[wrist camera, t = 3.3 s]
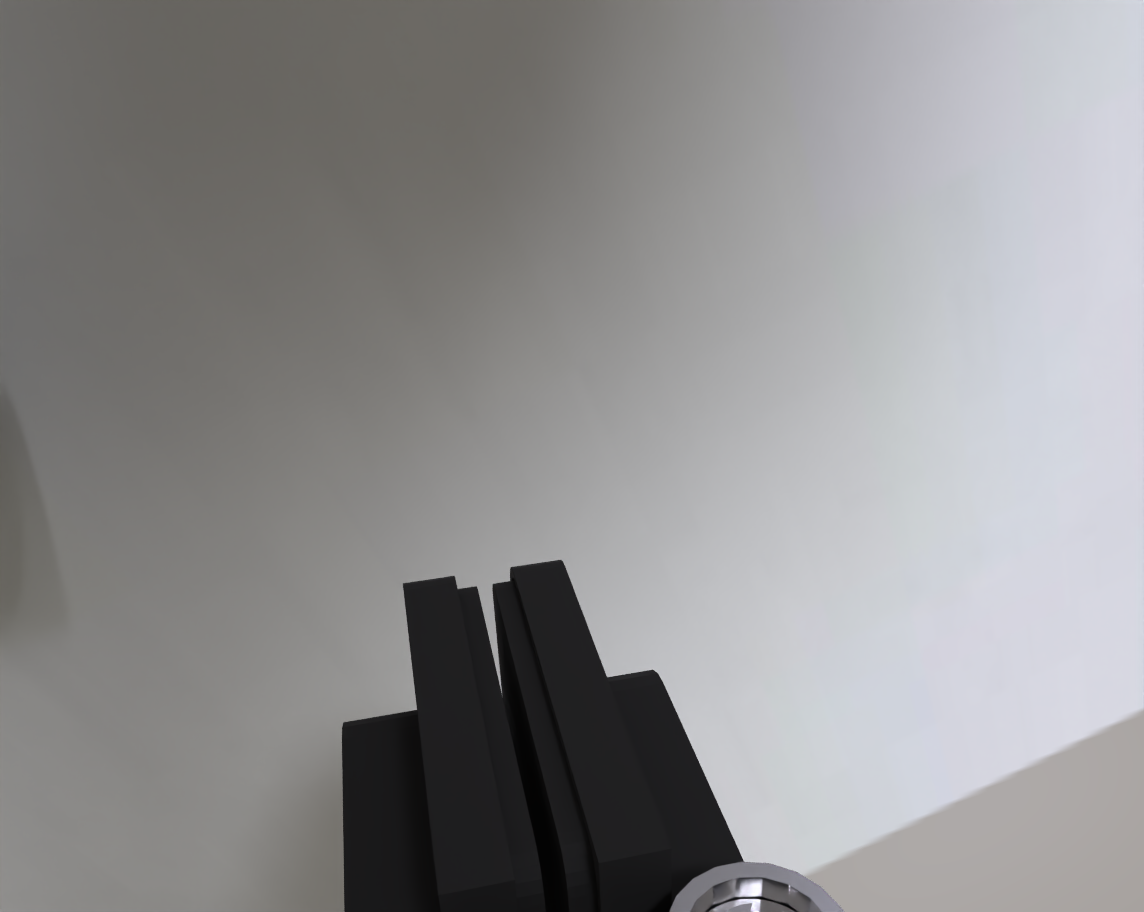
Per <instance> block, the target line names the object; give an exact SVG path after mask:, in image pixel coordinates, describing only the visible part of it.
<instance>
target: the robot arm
mask: <svg viewBox="0 0 1144 912" xmlns="http://www.w3.org/2000/svg"><path fill="white" fill-rule="evenodd" d="M403 589H404V598H405V607H406V615H407V624H408V633H409V642H410V651H411V660H412V668H413V677H414V686H415V695H416V704H417V710H414V711H408V712H402V713H397V714H391V715H385V716H379V717H373V718H367V719H361V720H356V721H350V722H344V723H343V727H342V767H343V836H344V905H345V912H844V911H843V909H842V908H841V907H840V906H839V905H838V903H837V902H836V901H835V900H834V899H833V898H832V897H831V896H830V895H829V894H828V893H827V892H826V891H825V890H824V889H823V888H822V887H821V886H819V885H818V884H816V883H814V882H813V881H811V880H809V879H808V878H806V877H804V876H803V875H801V874H799V873H798V872H796V871H792V870H789V869H786V868H783V867H780V866H776V865H773V864H770V863H755V862H744V861H743V859H742V856H741V854H740V852H739V850H738V848H737V845H736V843H735V841H734V839H733V837H732V834H731V832H730V830H729V828H728V825H727V823H726V821H725V819H724V817H723V814H722V812H721V810H720V808H719V806H718V803H717V801H716V799H715V797H714V794H713V792H712V790H711V788H710V786H709V783H708V781H707V779H706V777H705V775H704V772H703V770H702V768H701V766H700V763H699V761H698V759H697V757H696V755H695V752H694V750H693V748H692V746H691V743H690V741H689V739H688V737H687V735H686V732H685V730H684V728H683V726H682V724H681V721H680V719H679V717H678V715H677V712H676V710H675V708H674V706H673V704H672V701H671V699H670V697H669V695H668V693H667V690H666V688H665V686H664V684H663V682H662V680H661V678H660V676H659V675H658V673H657V672H655V671H654V670H649V671H643V672H637V673H631V674H625V675H619V676H613V677H608V678H607V676H606V674H605V671H604V668H603V666H602V663H601V660H600V658H599V655H598V652H597V650H596V647H595V645H594V642H593V639H592V637H591V634H590V631H589V629H588V626H587V623H586V621H585V618H584V615H583V613H582V610H581V608H580V605H579V602H578V600H577V597H576V594H575V592H574V589H573V586H572V584H571V581H570V578H569V576H568V573H567V570H566V568H565V565H564V563H563V561H562V560H557V561H550V562H543V563H537V564H530V565H523V566H517V567H511V569H510V581H509V582H502V583H496V584H493V601H494V611H495V622H496V633H497V643H498V654H499V664H500V675H501V686H502V693H501V689H500V685H499V680H498V676H497V671H496V667H495V663H494V658H493V654H492V650H491V645H490V641H489V636H488V632H487V628H486V623H485V619H484V615H483V610H482V606H481V601H480V597H479V593H478V589H477V587H470V588H463V589H457V585H456V580H455V576H450V577H444V578H437V579H430V580H424V581H417V582H410V583H404V584H403ZM502 696H503V698H502Z"/></svg>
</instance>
